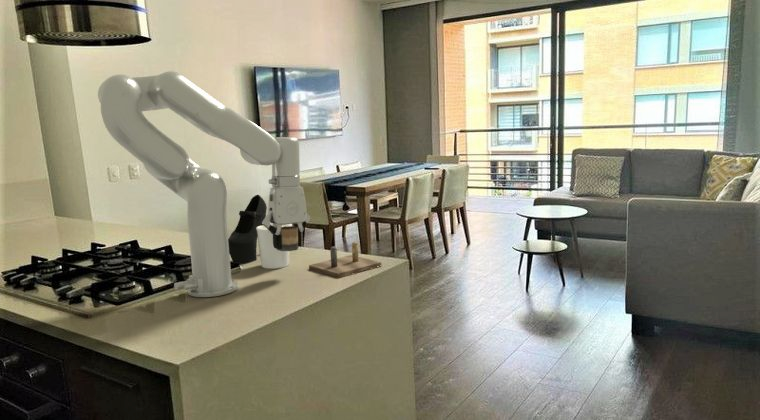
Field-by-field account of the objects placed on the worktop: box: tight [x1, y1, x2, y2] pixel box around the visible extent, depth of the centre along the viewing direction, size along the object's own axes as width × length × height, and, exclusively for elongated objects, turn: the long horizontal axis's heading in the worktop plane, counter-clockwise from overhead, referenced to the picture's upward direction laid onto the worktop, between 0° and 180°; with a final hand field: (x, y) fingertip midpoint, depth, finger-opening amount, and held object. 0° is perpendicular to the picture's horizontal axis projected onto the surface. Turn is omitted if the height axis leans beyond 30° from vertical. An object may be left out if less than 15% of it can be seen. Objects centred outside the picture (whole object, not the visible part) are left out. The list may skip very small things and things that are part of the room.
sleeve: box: [277, 225, 300, 252], centre depth 153 cm, size 6×6×6 cm
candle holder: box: [256, 223, 290, 270], centre depth 166 cm, size 10×10×12 cm
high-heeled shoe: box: [228, 194, 268, 264], centre depth 174 cm, size 8×19×20 cm, turn 158°
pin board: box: [308, 241, 382, 278], centre depth 160 cm, size 16×14×7 cm
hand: (287, 246), depth 153 cm, fingers closed on sleeve, 5 cm apart
